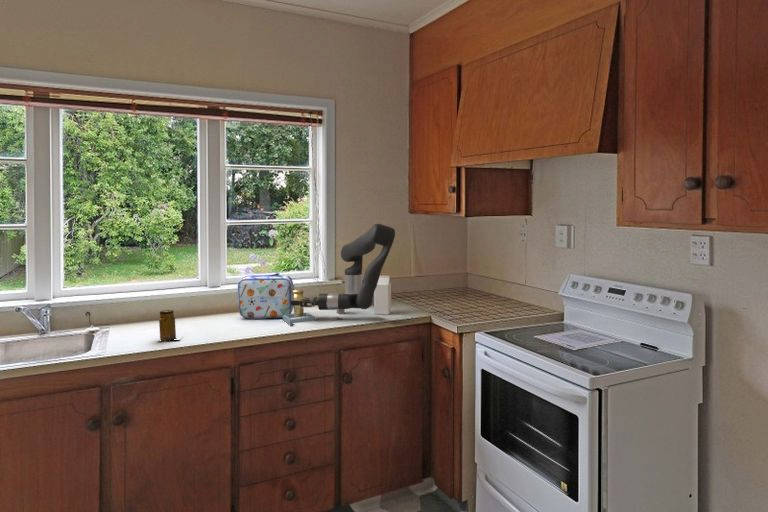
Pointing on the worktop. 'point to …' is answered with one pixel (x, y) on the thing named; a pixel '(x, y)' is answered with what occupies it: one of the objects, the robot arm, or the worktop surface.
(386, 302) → the milk carton
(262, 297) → the lunch box
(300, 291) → the pin
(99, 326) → the worktop surface
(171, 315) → the condiment
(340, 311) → the tensioner bracket
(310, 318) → the grey open frame
